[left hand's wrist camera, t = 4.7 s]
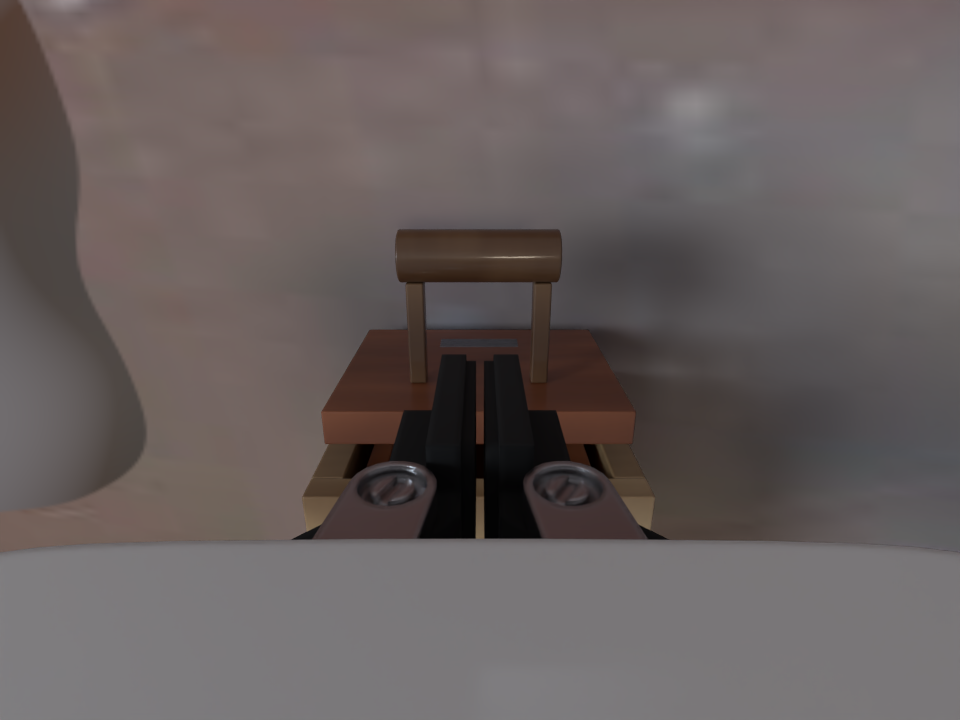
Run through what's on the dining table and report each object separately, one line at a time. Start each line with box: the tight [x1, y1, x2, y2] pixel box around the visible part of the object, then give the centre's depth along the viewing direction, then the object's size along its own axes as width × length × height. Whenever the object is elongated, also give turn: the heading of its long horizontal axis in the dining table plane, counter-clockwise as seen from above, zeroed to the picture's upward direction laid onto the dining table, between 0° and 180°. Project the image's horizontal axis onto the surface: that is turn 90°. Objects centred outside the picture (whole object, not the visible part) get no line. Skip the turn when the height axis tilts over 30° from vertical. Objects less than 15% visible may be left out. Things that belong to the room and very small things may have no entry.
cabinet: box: [302, 444, 655, 539], centre depth 26 cm, size 21×11×10 cm, turn 0°
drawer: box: [321, 229, 636, 479], centre depth 24 cm, size 25×10×8 cm, turn 0°
